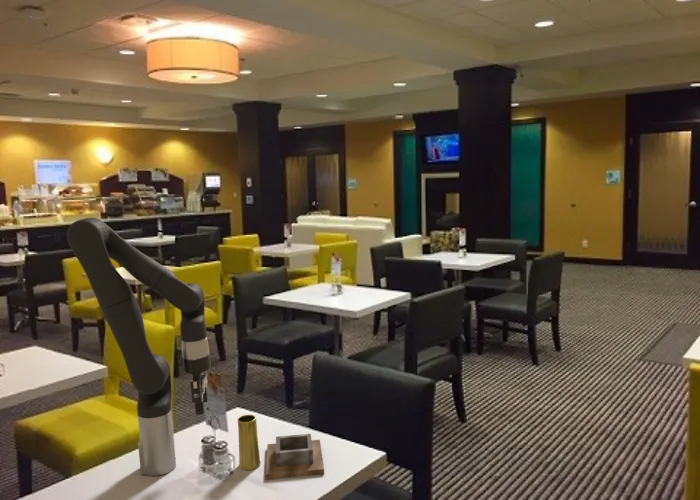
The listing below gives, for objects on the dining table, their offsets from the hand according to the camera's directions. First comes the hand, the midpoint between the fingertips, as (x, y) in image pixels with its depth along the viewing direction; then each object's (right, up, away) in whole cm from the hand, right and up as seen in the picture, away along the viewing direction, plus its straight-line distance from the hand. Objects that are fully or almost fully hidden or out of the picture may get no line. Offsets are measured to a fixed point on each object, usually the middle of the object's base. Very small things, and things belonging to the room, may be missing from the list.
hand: (202, 407), depth 169 cm
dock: (+26, -16, +2) cm, 31 cm away
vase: (+14, -17, +1) cm, 22 cm away
